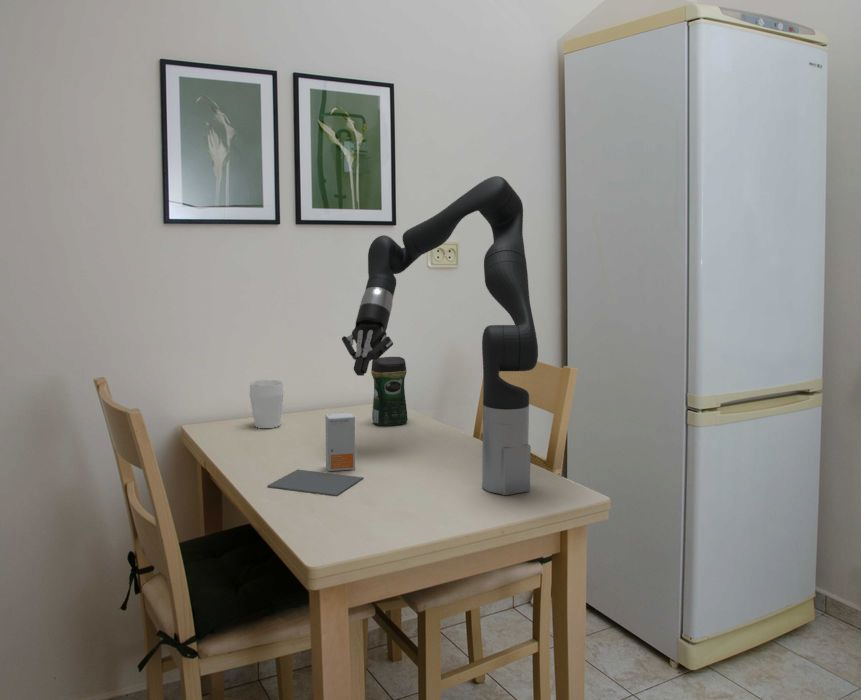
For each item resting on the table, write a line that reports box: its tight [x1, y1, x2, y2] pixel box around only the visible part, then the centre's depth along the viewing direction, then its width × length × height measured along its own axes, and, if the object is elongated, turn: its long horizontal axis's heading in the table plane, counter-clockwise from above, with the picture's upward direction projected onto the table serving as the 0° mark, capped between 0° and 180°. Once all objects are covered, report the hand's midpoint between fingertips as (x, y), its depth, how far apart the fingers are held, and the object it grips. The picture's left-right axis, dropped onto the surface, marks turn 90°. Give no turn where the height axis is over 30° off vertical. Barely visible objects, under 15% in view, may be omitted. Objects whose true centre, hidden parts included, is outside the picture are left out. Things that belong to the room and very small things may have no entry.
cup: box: [249, 379, 285, 429], centre depth 205 cm, size 9×9×12 cm
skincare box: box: [325, 412, 356, 472], centre depth 166 cm, size 6×4×12 cm
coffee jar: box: [370, 356, 409, 427], centre depth 208 cm, size 10×8×19 cm
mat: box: [266, 469, 364, 497], centre depth 157 cm, size 12×16×1 cm
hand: (359, 374), depth 173 cm, fingers closed
